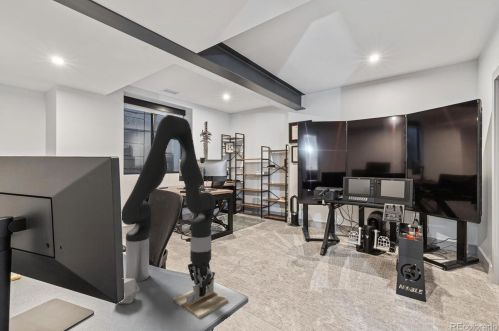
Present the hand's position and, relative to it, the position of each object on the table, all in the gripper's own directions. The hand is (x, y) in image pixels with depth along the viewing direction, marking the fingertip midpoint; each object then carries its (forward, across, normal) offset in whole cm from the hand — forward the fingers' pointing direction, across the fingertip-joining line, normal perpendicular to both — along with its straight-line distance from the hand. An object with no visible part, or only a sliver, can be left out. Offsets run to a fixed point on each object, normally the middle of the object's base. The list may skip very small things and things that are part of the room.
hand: (200, 294), depth 87 cm
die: (+3, -20, -18) cm, 27 cm away
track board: (+2, 0, 0) cm, 2 cm away
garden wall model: (+1, 0, 0) cm, 1 cm away
